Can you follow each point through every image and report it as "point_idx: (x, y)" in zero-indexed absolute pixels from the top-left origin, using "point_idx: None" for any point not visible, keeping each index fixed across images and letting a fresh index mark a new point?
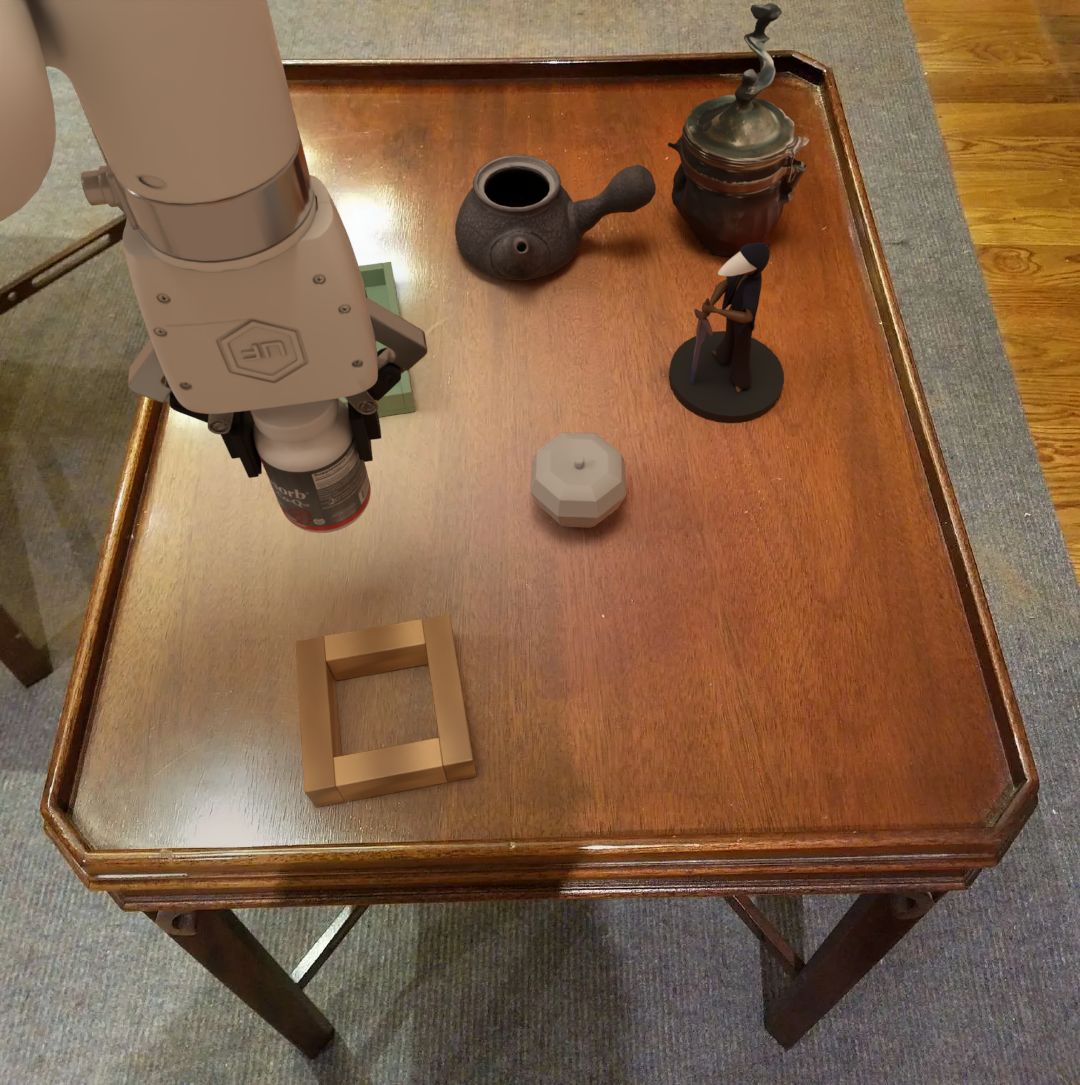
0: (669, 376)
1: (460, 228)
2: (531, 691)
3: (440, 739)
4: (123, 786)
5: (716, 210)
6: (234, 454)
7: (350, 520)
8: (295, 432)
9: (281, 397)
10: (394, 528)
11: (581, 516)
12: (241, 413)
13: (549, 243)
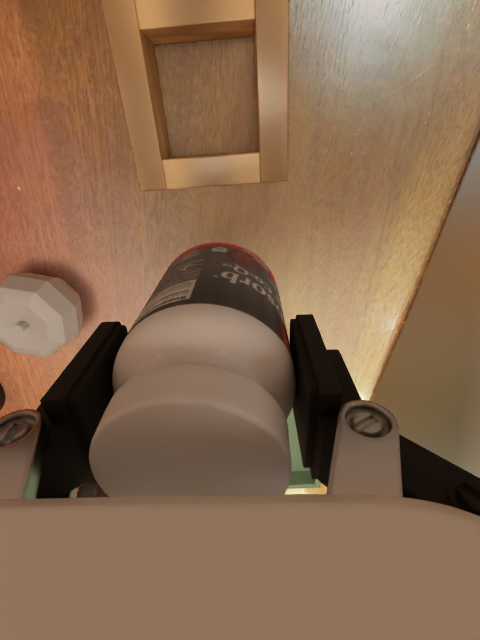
0: (1, 393)
1: None
2: (74, 112)
3: (137, 26)
4: (465, 55)
5: None
6: (333, 355)
7: (183, 253)
8: (175, 387)
9: (112, 564)
10: None
11: (24, 277)
12: (312, 437)
13: (91, 496)
